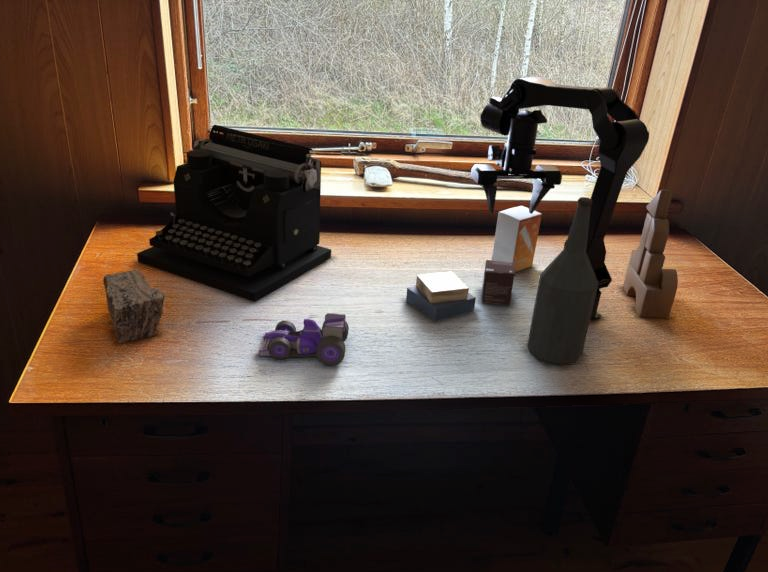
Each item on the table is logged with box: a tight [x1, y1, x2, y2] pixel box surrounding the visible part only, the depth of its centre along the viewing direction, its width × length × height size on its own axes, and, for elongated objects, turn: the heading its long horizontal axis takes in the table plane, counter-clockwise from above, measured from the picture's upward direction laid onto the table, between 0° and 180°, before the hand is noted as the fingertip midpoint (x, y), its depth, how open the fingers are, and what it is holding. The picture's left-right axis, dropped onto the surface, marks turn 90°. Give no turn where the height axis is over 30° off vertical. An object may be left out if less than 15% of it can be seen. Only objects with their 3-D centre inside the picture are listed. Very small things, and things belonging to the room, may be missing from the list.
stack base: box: [405, 285, 477, 322], centre depth 151 cm, size 10×10×3 cm
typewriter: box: [136, 124, 332, 303], centre depth 156 cm, size 31×27×25 cm
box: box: [481, 259, 516, 306], centre depth 154 cm, size 6×6×7 cm
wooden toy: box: [622, 189, 679, 319], centre depth 155 cm, size 16×7×25 cm, turn 2°
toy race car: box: [258, 312, 350, 367], centre depth 131 cm, size 10×15×6 cm, turn 90°
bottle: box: [526, 196, 599, 367], centre depth 131 cm, size 10×10×30 cm
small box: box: [491, 205, 543, 273], centre depth 168 cm, size 8×6×13 cm
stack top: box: [415, 271, 470, 303], centre depth 149 cm, size 8×8×2 cm
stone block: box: [102, 269, 166, 344], centre depth 134 cm, size 14×9×8 cm, turn 29°
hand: (510, 213), depth 161 cm, fingers open, 9 cm apart
